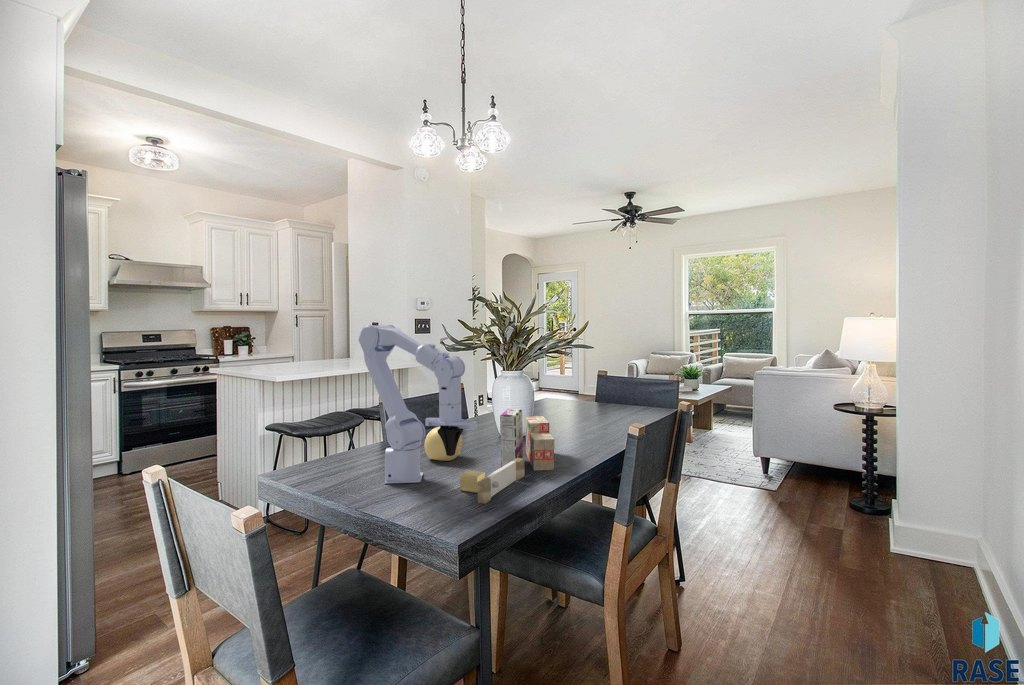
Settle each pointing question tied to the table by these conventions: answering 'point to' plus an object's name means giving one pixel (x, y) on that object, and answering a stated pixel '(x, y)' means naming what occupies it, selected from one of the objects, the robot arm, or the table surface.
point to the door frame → (485, 484)
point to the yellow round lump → (439, 446)
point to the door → (502, 477)
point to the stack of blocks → (539, 443)
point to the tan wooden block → (470, 481)
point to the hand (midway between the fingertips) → (450, 454)
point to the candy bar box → (511, 435)
